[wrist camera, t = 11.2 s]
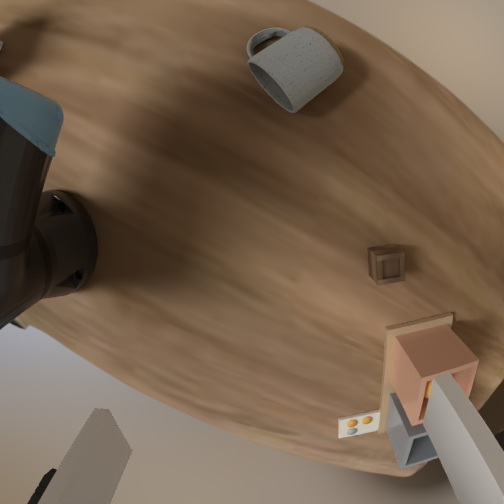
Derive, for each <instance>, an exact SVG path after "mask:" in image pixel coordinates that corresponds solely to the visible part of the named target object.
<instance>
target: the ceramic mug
mask: <svg viewBox="0 0 504 504" xmlns="http://www.w3.org/2000/svg"><path fill="white" fill-rule="evenodd" d="M273 36H282V38H281V39H280V40H278V41H276V42H275V43H273V44H271V45H270V46H268V47H266V48H265V49H263V50H262V51H260V52H259V53H257V54H255V55H254V56H253V55H252V51H253V49H254V48H255V47H256V46H257V45H258V44H260V43H261V42H263V41H265V40H267V39H269V38H271V37H273ZM247 54H248V56H249V58H250V59H249V60H248V62H247V64H248V67H249V69H250V71H251V73H252V74H253V76H254V77H255V79H256V80H257V81H258V83H259V84H260V85H261V86H262V87H263V89H264V90H265V91H266V92H267V93H268V95H269V96H270V97H271V98H272V99H273V100H274V101H275V102H277V104H279V105H280V106H281V107H282V108H284V109H285V110H286V111H288V112H291V113H295V112H297V111H298V110H299V109H301V108H302V107H303V106H304V105H305V104H307V103H308V102H309V101H310V100H312V99H313V98H314V97H315V96H317V95H318V94H319V93H320V92H321V91H323V90H324V89H325V88H327V87H328V86H329V85H330V84H332V83H333V82H334V81H336V80H337V78H338V77H339V76H340V75H341V74H342V73H343V70H344V61H343V57H342V55H341V53H340V51H339V49H338V48H337V46H336V45H335V44H334V42H333V41H332V40H331V39H330V38H329V37H328V36H327V35H325V34H324V33H323V32H321V31H319V30H318V29H315V28H312V27H302V28H299V29H296V30H294V31H292V32H291V31H289V30H287V29H284V28H279V27H275V28H268V29H264V30H262V31H260V32H258V33H256V34H255V35H253V36H252V37H251V38H250V39H249V41H248V43H247Z"/></svg>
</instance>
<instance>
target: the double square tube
mask: <svg viewBox="0 0 504 504" xmlns="http://www.w3.org/2000/svg"><path fill="white" fill-rule="evenodd" d="M452 321H453V314H452V313H451V312H449V313H445V314H441V315H437V316H433V317H429V318H424V319H420V320H416V321H411V322H407V323H402V324H398V325H393V326H388V327H385V344H384V361H383V375H382V386H381V397H380V406H379V411H380V416H379V423H378V430H377V433H382V432H387V435H388V438H389V440H390V443H391V446H392V449H393V451H394V454H395V457H396V460H397V463H398V466H399V468H400V470H401V469H404V468H408V467H411V466H414V465H417V464H420V463H424V462H427V461H429V460H432V459H435V458H438V454H437V452H436V450H435V448H434V446H433V444H432V442H431V440H430V438H429V436H428V434H427V432H426V430H425V428H424V426H423V420H424V416H425V412H426V408H427V404H428V399H429V398H425V397H424V393H425V388H426V383H427V381H430V380H433V377H435V376H438V375H442V374H445V373H448V372H450V374H451V375H452V376H453V378H454V379H455V381H456V382H457V383H458V385H459V386H460V387H461V389H462V390H463V392H464V393H465V394H466V396H467V397H468V399H469V395H470V392H471V389H472V385H473V382H474V378H475V375H476V371H477V367H478V363H479V359H478V358H477V356H476V355H475V354H474V353H473V352H472V351H471V350H470V349H469V348H468V347H467V346H466V344H465V343H464V342H463V341H462V340H461V339H460V338H459V337H458V336H457V335H456V334H455V333H454V332H453V331H452V330H451V328H452Z"/></svg>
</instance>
